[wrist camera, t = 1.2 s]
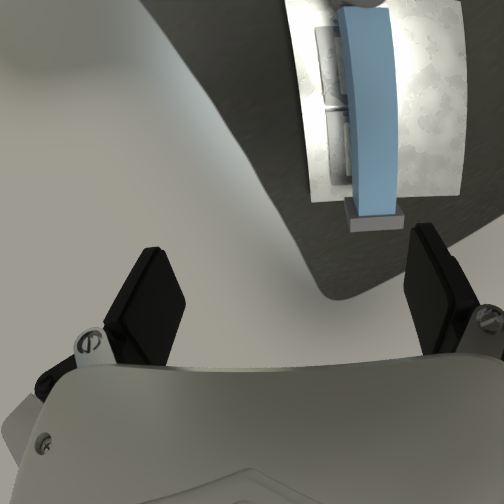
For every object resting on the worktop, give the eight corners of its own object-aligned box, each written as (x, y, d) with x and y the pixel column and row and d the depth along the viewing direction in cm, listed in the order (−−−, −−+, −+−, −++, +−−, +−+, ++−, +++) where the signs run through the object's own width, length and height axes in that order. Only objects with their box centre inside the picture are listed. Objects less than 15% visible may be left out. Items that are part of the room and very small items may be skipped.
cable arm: (319, -24, 16) (325, -37, 12) (377, -23, 15) (393, -34, 12) (344, 208, 27) (350, 233, 24) (391, 205, 26) (403, 230, 23)
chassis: (283, -7, 20) (281, -16, 17) (450, 1, 17) (473, -3, 14) (310, 193, 32) (313, 216, 28) (451, 186, 29) (469, 207, 26)
